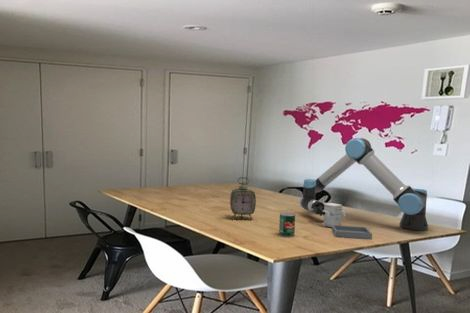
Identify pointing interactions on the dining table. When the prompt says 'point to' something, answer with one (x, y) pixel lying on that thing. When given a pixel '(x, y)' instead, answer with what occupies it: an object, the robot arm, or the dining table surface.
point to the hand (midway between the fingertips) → (337, 214)
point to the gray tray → (351, 232)
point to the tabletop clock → (242, 200)
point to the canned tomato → (287, 224)
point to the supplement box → (332, 214)
